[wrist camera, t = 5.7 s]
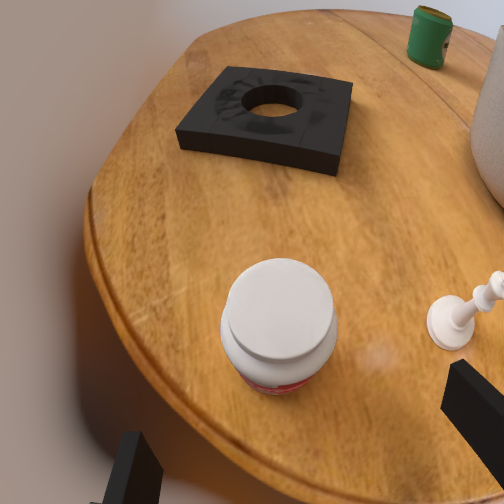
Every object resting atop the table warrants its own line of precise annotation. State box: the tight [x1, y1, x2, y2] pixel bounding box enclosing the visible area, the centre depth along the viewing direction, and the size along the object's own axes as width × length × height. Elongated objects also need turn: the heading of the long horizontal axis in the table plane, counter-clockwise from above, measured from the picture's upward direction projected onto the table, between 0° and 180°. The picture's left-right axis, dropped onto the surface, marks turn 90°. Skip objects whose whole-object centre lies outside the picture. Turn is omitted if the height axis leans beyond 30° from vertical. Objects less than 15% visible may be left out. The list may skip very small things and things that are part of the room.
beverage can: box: [407, 6, 453, 69], centre depth 42 cm, size 8×8×12 cm
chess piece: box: [427, 271, 504, 351], centre depth 18 cm, size 5×5×10 cm
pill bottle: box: [220, 258, 338, 395], centre depth 18 cm, size 6×6×11 cm
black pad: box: [175, 66, 353, 176], centre depth 36 cm, size 18×16×3 cm
